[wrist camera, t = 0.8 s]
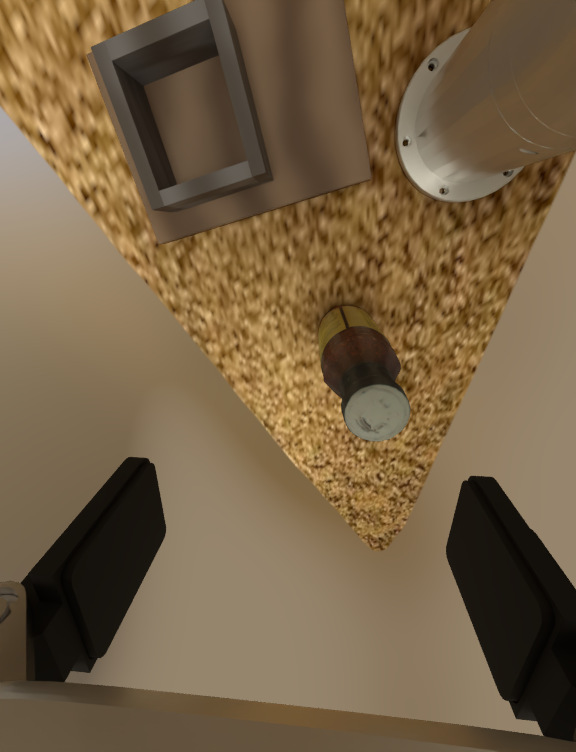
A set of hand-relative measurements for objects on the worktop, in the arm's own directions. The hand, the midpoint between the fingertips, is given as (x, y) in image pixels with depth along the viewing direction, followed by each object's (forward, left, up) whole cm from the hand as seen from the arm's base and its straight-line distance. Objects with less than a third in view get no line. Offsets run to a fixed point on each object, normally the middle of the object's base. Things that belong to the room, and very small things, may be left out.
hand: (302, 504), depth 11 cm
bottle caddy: (+3, -18, -30) cm, 35 cm away
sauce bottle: (-3, +4, -30) cm, 31 cm away
